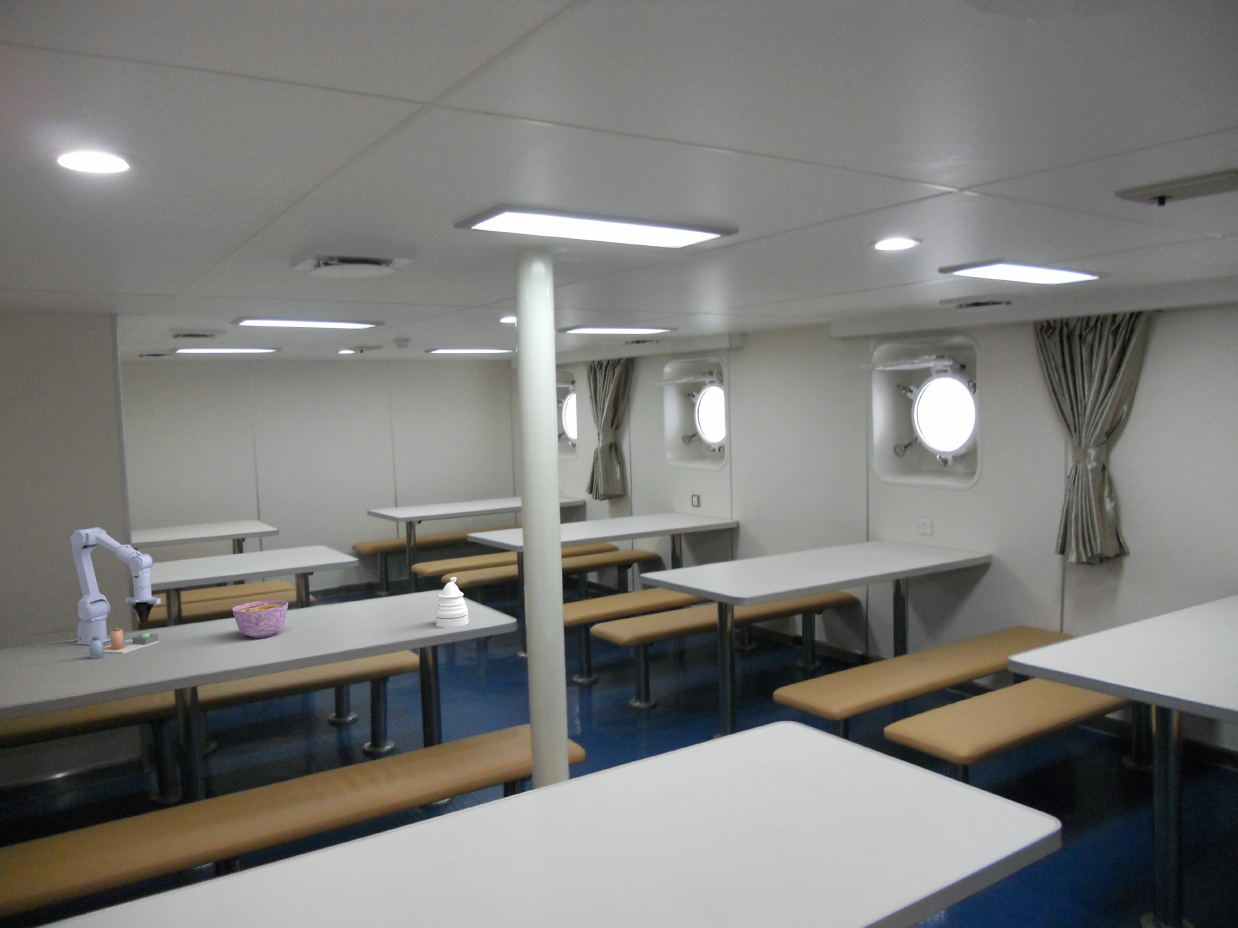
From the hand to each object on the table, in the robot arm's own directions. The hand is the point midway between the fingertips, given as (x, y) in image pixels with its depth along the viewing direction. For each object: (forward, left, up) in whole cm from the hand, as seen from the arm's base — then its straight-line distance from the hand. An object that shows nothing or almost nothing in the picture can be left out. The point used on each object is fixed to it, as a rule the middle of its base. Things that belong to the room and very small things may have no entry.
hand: (144, 622), depth 314 cm
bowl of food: (+38, +18, -9) cm, 43 cm away
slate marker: (-2, -19, -8) cm, 21 cm away
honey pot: (+105, +46, -9) cm, 115 cm away
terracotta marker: (-3, -9, -8) cm, 12 cm away
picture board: (-4, -5, -8) cm, 10 cm away
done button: (0, 0, -7) cm, 7 cm away
